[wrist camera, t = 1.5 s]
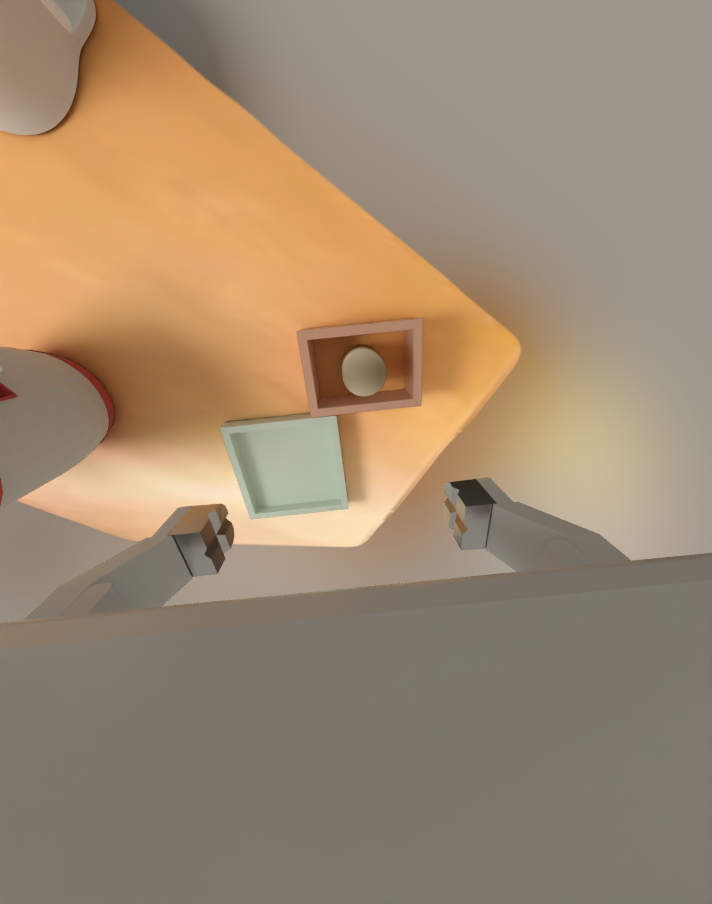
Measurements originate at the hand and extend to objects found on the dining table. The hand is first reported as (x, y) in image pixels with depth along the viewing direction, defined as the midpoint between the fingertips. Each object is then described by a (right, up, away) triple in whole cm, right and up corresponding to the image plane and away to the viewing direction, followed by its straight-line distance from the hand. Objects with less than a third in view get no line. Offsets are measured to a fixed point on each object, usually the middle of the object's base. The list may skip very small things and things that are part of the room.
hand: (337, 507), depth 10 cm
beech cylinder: (+1, +14, +27) cm, 30 cm away
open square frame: (+1, +14, +27) cm, 30 cm away
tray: (-9, 0, +33) cm, 34 cm away
